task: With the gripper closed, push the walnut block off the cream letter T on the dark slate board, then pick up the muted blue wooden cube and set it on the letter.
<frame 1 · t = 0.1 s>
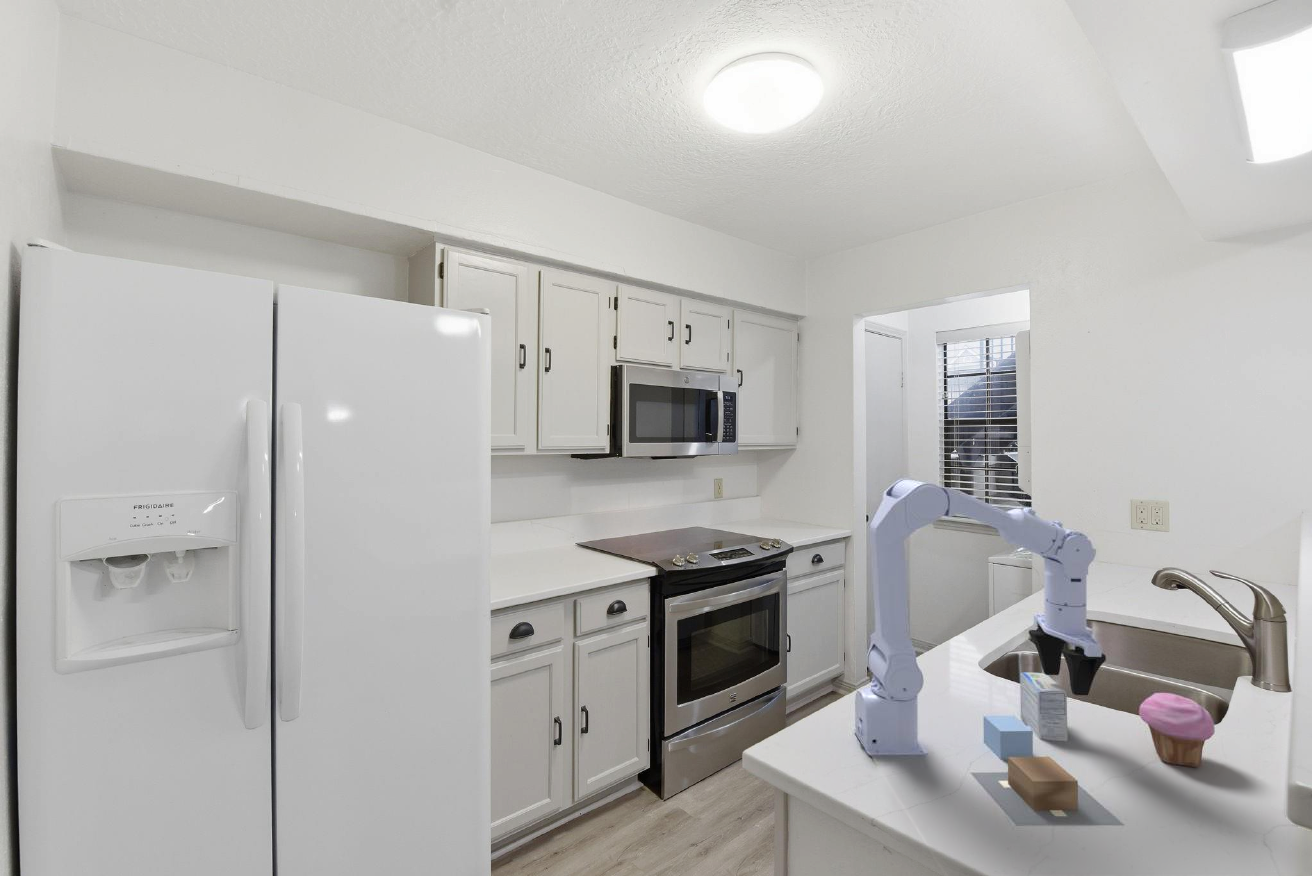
hand: (1065, 684, 99), 10 cm above the counter, tool pointing down, fingers open, 7 cm apart
walnut block: (1041, 796, 84), resting on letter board
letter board: (1041, 799, 84), on the counter
cupcake: (1175, 760, 94), on the counter
medicine box: (1043, 732, 103), on the counter
blue cube: (1007, 754, 96), on the counter
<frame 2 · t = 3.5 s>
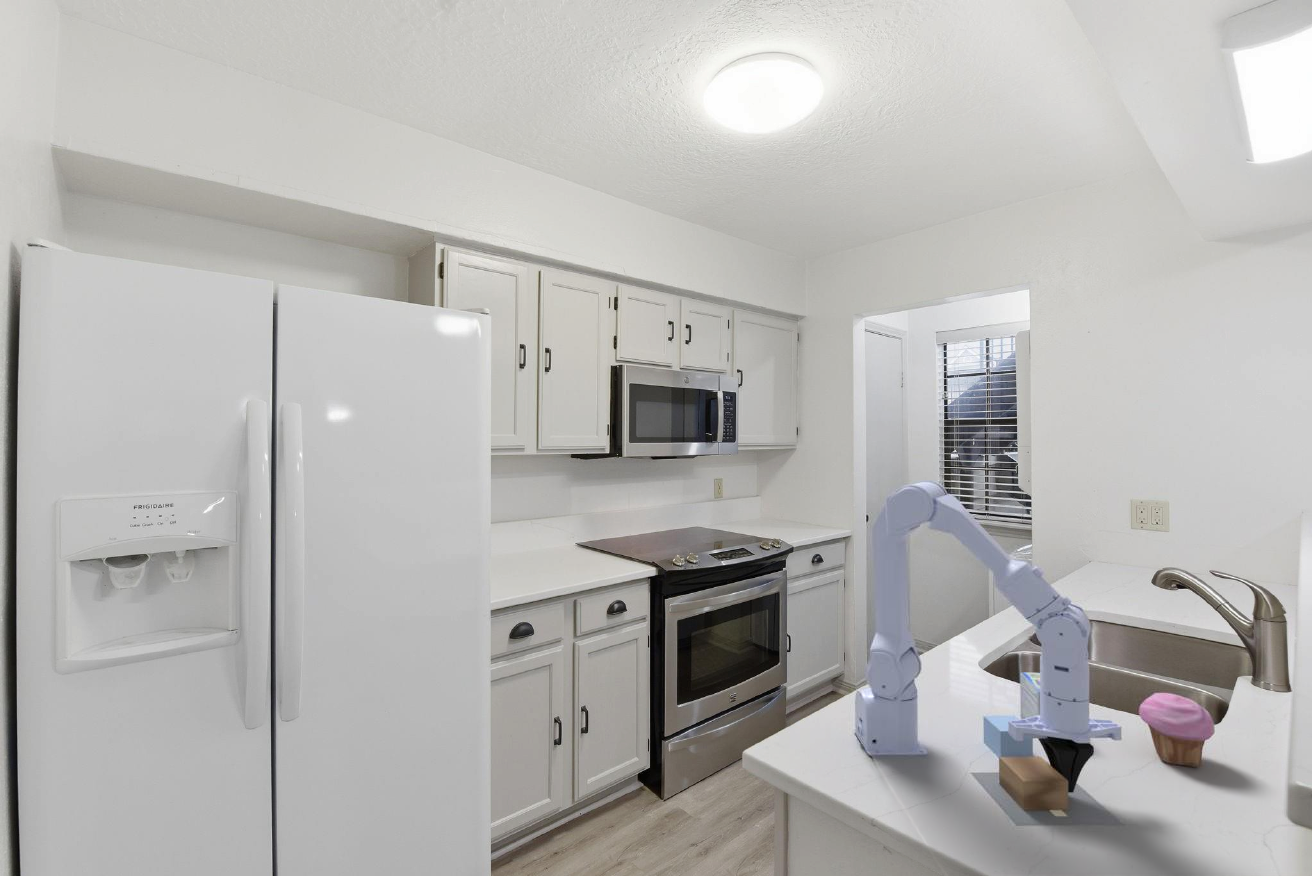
hand: (1064, 788, 84), 2 cm above the counter, tool pointing down, fingers closed
walnut block: (1032, 796, 84), resting on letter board, touching gripper
everything else where it was.
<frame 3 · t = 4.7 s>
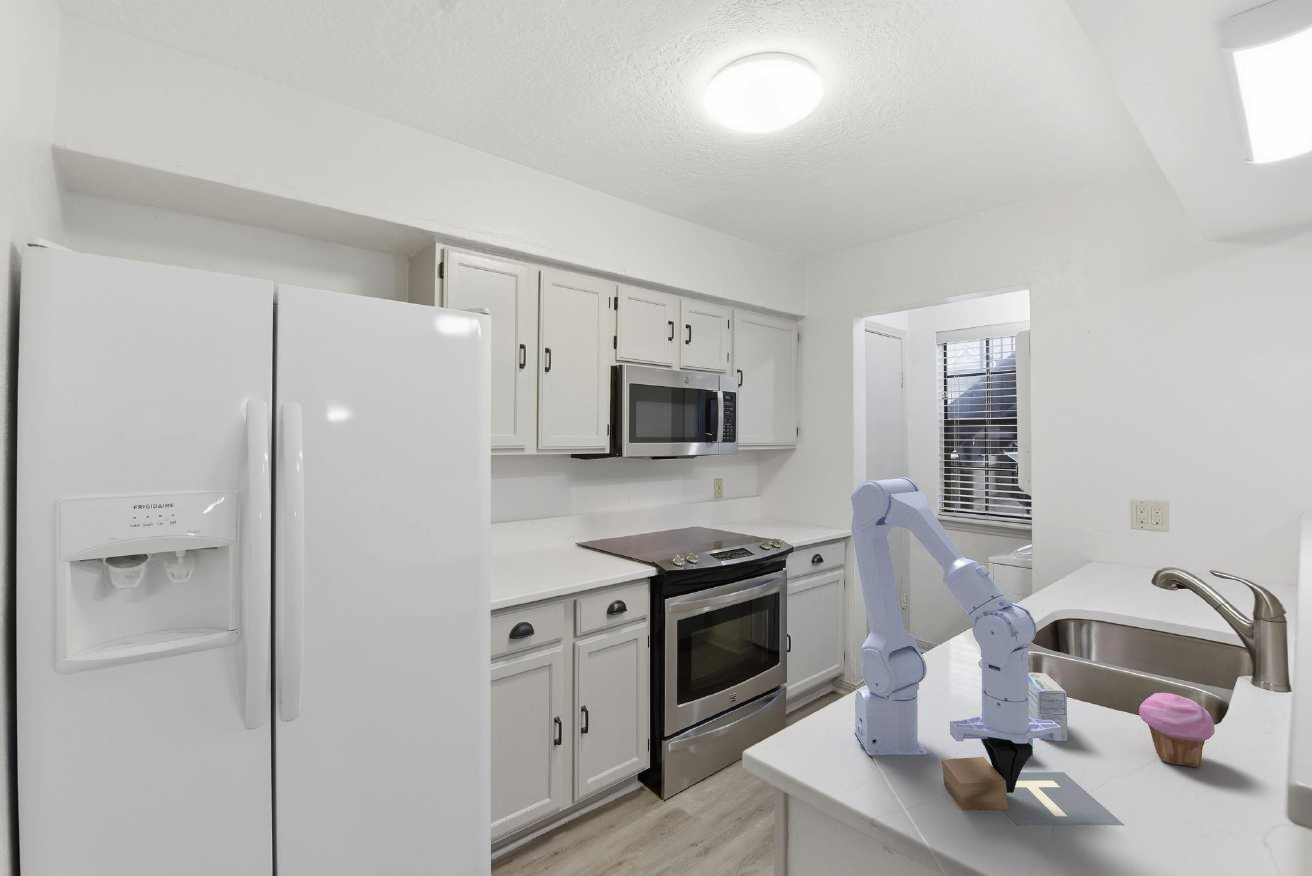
hand: (1005, 788, 84), 2 cm above the counter, tool pointing down, fingers closed
walnut block: (975, 797, 85), on the counter, touching gripper
everything else where it was.
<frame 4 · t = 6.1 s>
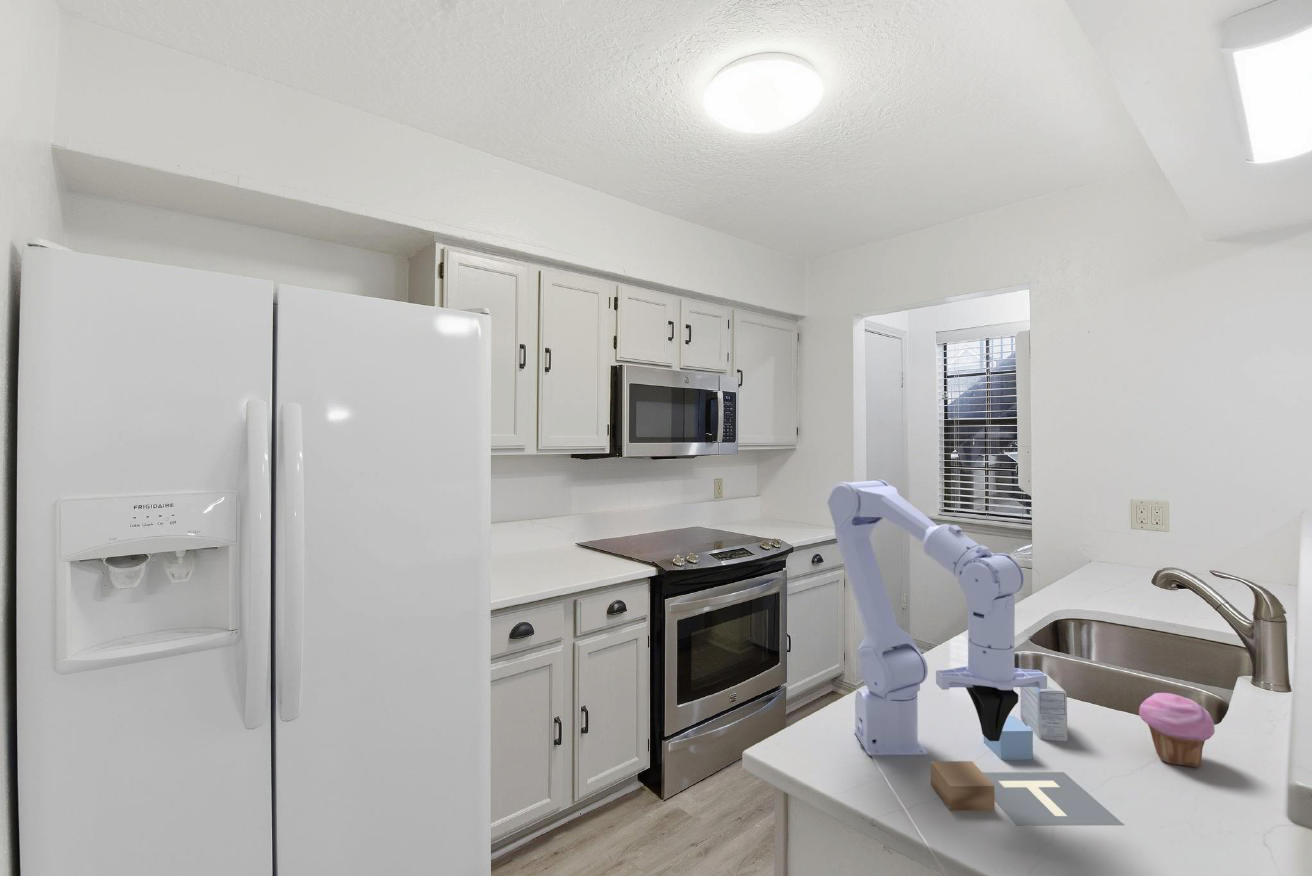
hand: (990, 737, 84), 9 cm above the counter, tool pointing down, fingers closed
walnut block: (961, 801, 85), on the counter
everything else where it was.
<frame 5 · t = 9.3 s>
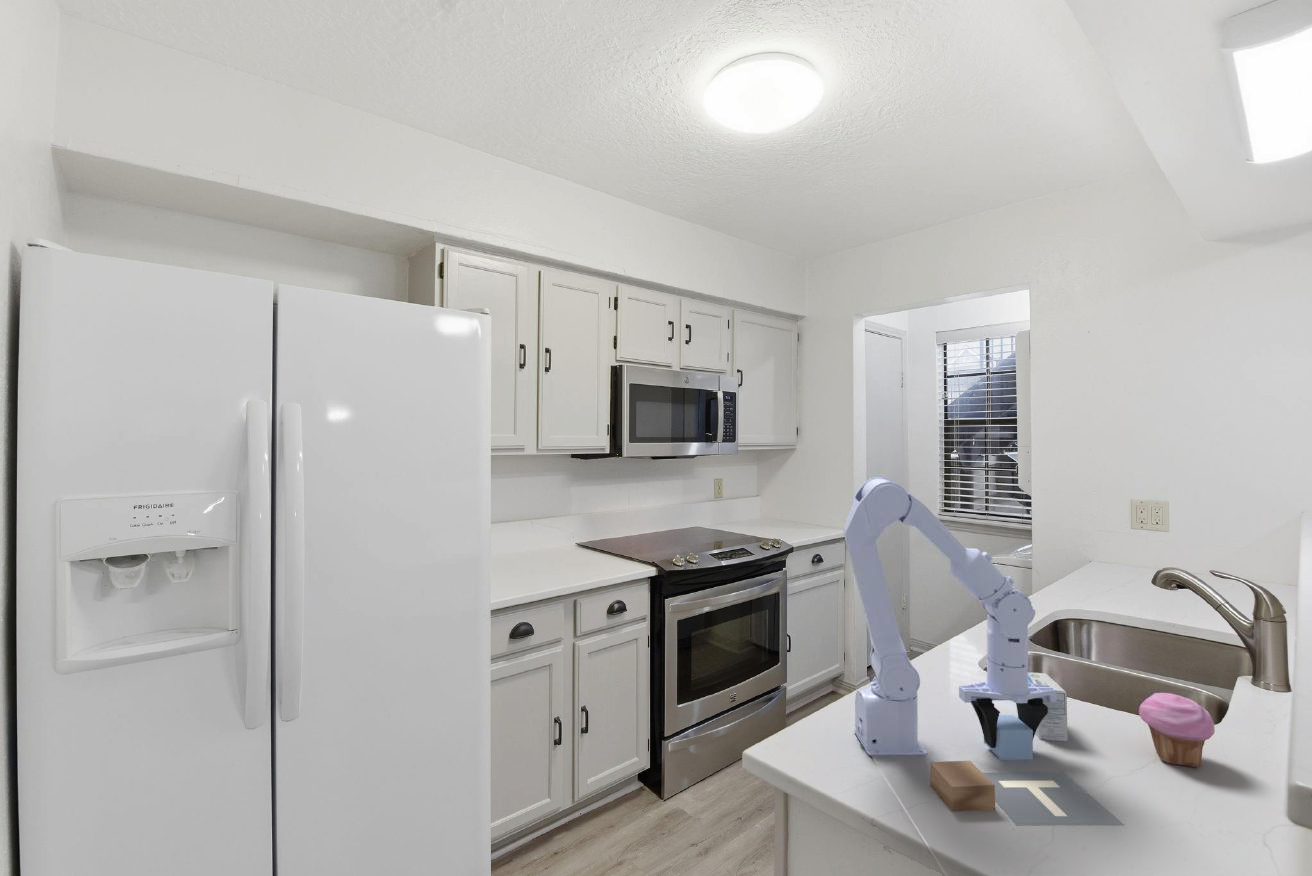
hand: (1007, 744, 96), 1 cm above the counter, tool pointing down, fingers closed on blue cube, 5 cm apart
blue cube: (1007, 753, 96), on the counter, touching gripper
everything else where it was.
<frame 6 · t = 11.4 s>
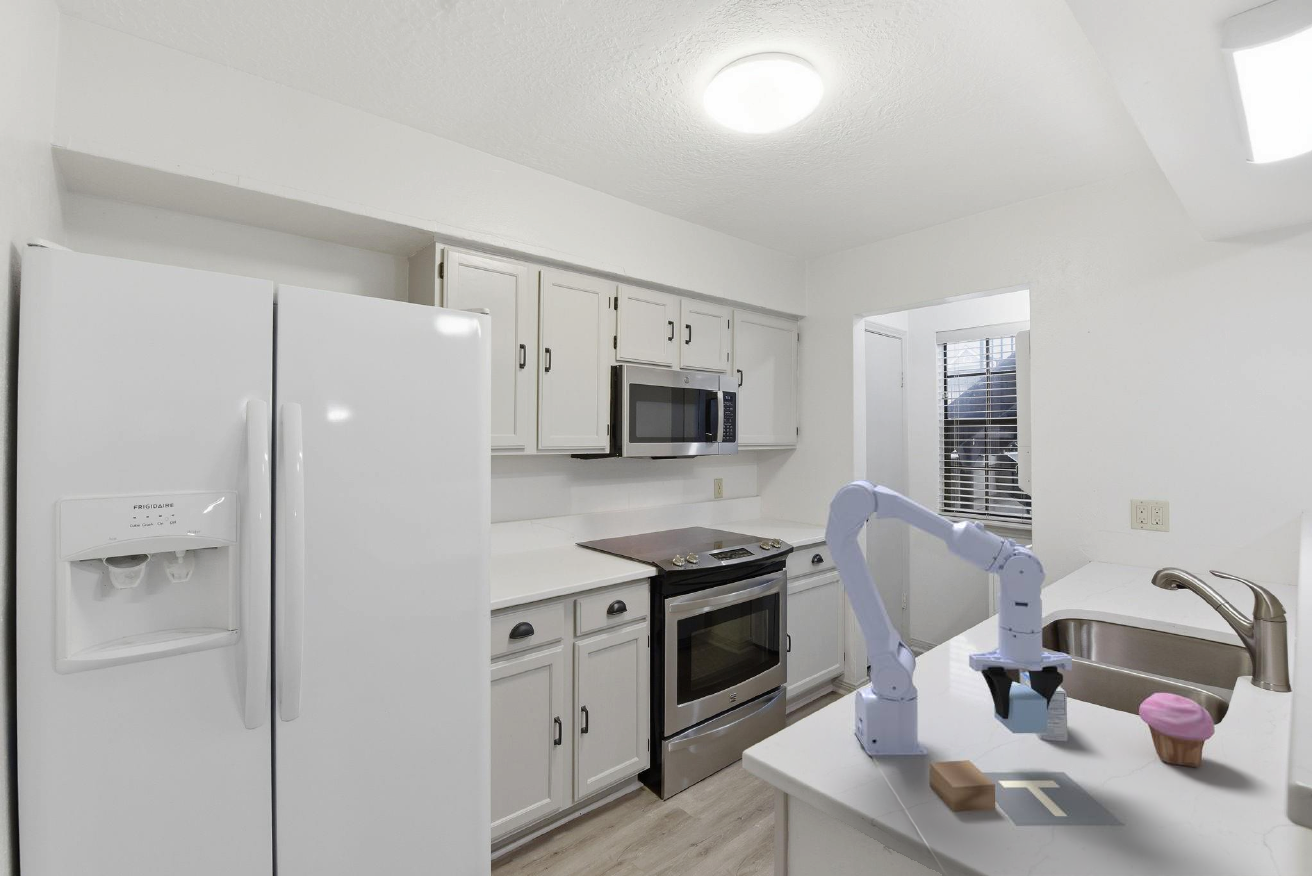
hand: (1020, 715, 91), 8 cm above the counter, tool pointing down, fingers closed on blue cube, 5 cm apart
blue cube: (1020, 724, 92), point 7 cm above the counter, touching gripper
everything else where it was.
when the fingers open (3 cm above the counter, at t = 13.8 s): blue cube stays where it is, resting on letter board.
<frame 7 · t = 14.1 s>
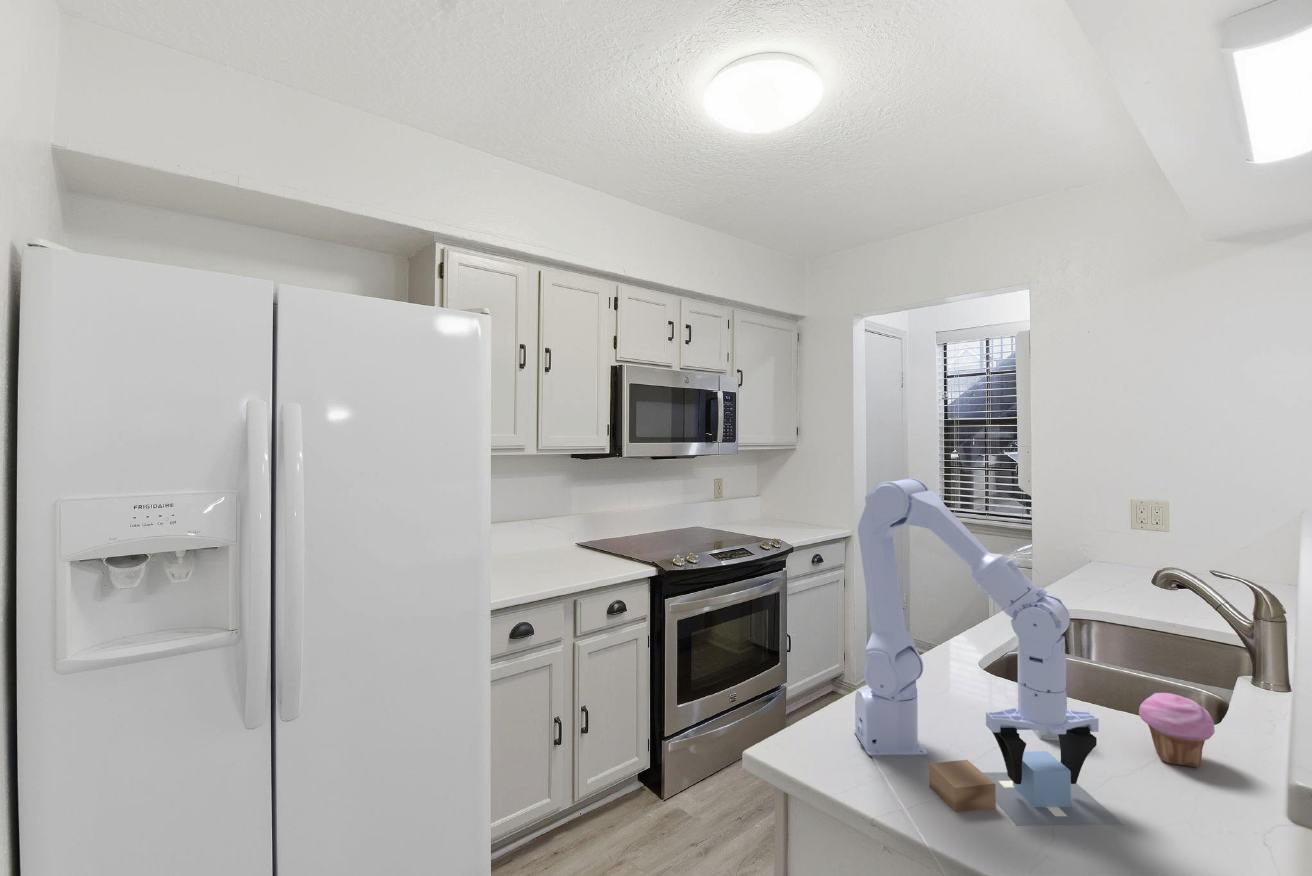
hand: (1041, 780, 84), 3 cm above the counter, tool pointing down, fingers open, 7 cm apart
blue cube: (1040, 796, 85), resting on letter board
everything else where it was.
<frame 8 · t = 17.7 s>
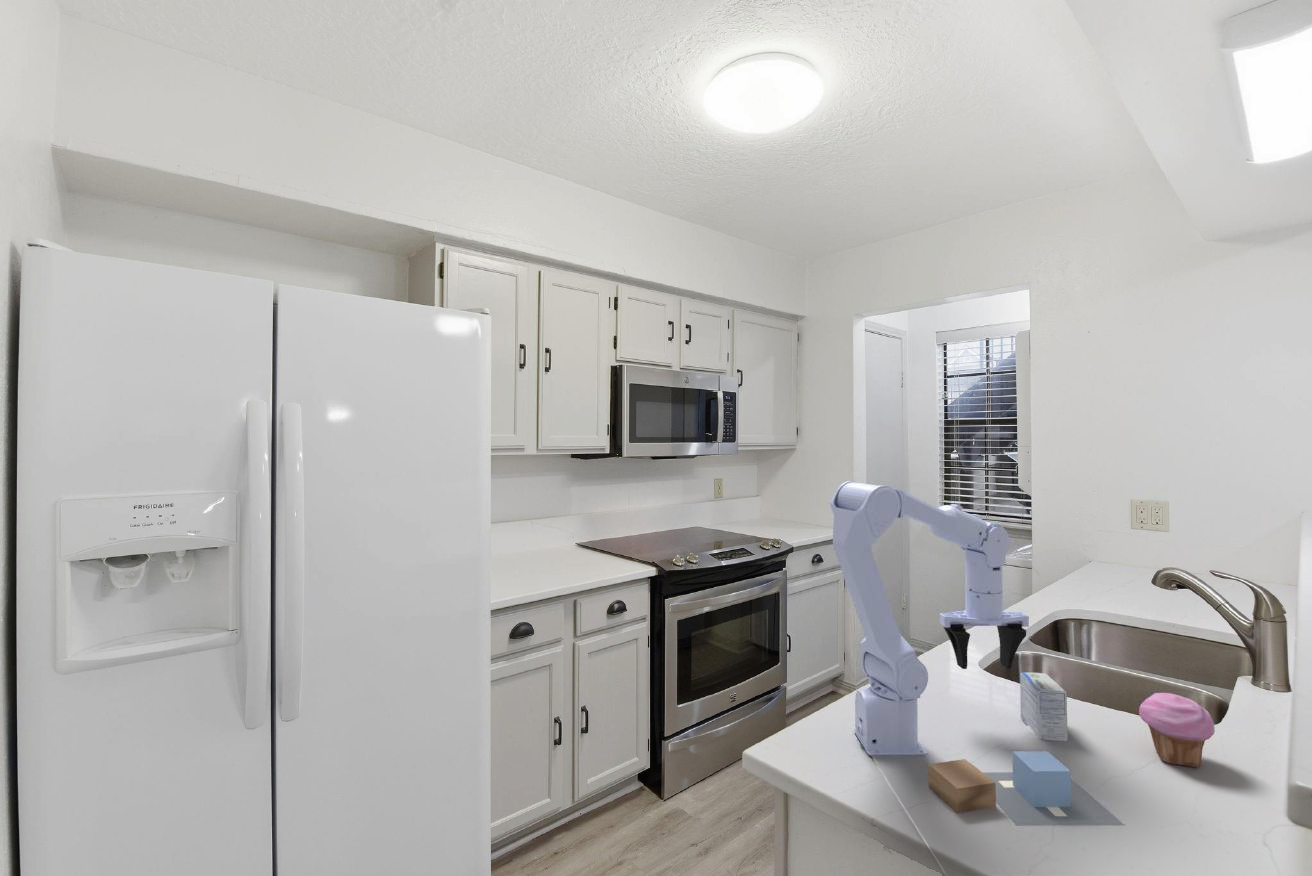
hand: (983, 666, 105), 10 cm above the counter, tool pointing down, fingers open, 7 cm apart
nothing on the counter moved.
at the end: blue cube inside the target area on the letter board (0.3 cm from its centre), point 0.4 cm above the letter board's base; blue cube tilted 0°; walnut block inside the target area (1.1 cm from its centre), on the counter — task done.
